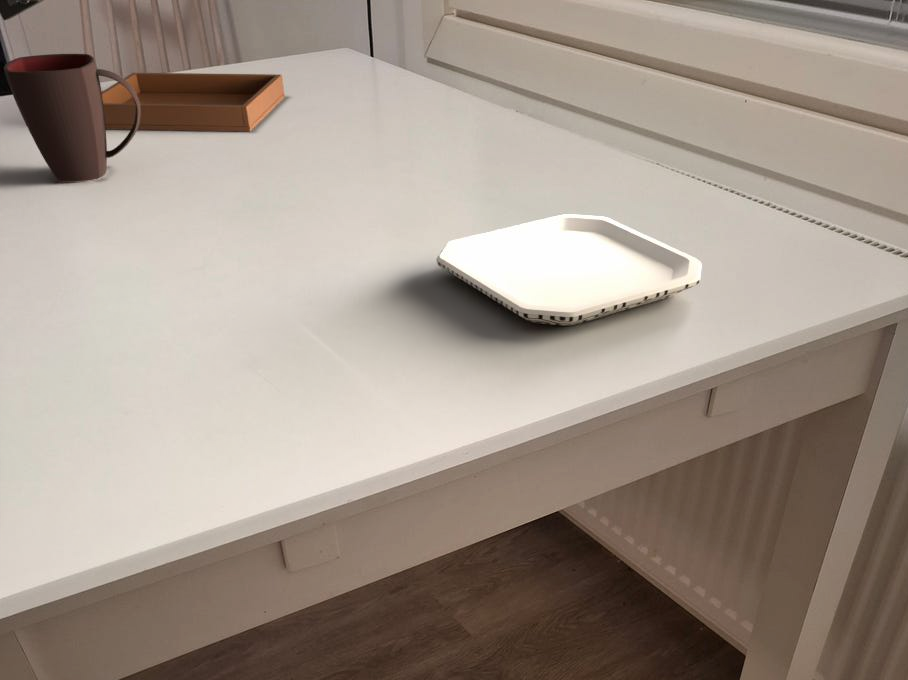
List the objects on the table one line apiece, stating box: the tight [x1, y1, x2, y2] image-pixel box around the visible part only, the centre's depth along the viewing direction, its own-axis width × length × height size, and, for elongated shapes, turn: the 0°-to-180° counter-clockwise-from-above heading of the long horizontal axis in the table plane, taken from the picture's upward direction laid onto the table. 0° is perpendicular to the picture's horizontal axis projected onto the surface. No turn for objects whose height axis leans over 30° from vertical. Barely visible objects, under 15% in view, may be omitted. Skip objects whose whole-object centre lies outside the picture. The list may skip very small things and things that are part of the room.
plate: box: [436, 213, 703, 327], centre depth 86 cm, size 21×21×2 cm
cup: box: [3, 53, 141, 183], centre depth 109 cm, size 10×14×12 cm
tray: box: [101, 72, 286, 133], centre depth 133 cm, size 24×20×3 cm
